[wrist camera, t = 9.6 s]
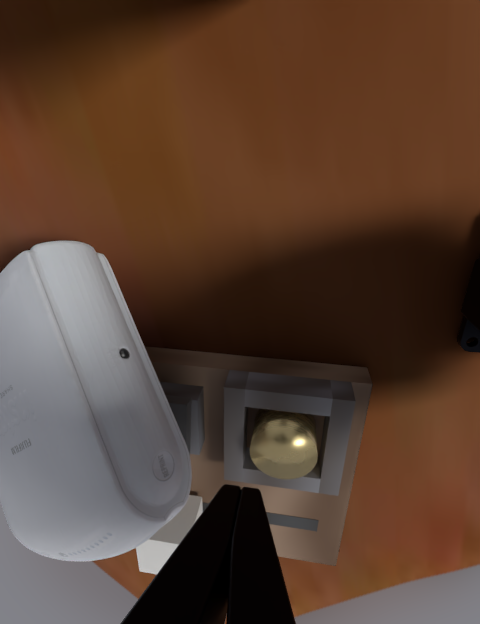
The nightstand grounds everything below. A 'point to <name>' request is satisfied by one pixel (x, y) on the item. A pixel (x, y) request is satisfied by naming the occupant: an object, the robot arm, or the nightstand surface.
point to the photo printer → (81, 412)
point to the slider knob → (168, 537)
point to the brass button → (284, 443)
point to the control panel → (239, 428)
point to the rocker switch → (182, 415)
